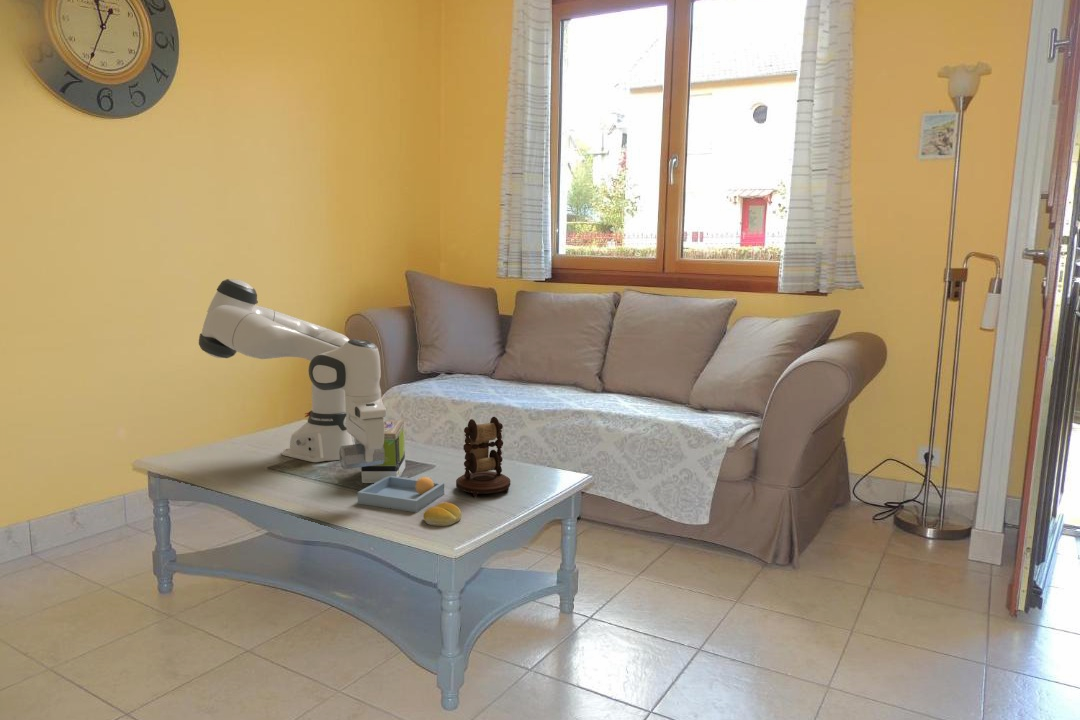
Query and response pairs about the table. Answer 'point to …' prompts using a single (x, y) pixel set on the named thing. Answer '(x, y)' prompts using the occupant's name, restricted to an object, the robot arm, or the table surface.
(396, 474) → the tea box
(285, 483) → the table surface
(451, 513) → the bread roll
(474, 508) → the table surface
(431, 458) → the table surface
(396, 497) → the tray
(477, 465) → the wooden spool stand
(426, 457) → the table surface
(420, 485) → the ball
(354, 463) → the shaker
